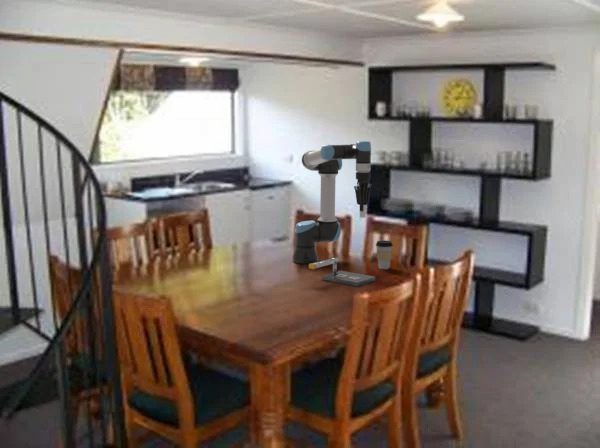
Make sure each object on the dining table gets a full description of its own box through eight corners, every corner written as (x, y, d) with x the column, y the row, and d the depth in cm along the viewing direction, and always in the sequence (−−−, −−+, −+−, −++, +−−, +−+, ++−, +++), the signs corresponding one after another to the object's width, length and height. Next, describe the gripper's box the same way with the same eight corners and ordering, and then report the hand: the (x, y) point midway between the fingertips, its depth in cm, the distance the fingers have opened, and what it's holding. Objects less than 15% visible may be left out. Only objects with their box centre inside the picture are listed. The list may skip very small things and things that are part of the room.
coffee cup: (392, 266, 374) (392, 240, 372) (392, 270, 365) (393, 243, 362) (375, 266, 375) (375, 240, 373) (375, 269, 366) (375, 243, 363)
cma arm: (334, 261, 350) (334, 257, 350) (340, 262, 347) (340, 258, 347) (308, 268, 334) (308, 263, 334) (314, 269, 331) (314, 265, 331)
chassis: (322, 279, 344) (322, 264, 342) (340, 274, 356) (340, 259, 355) (357, 286, 330) (357, 270, 328) (375, 280, 342) (375, 265, 341)
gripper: (361, 172, 331) (361, 219, 334) (376, 171, 341) (375, 216, 344) (349, 172, 335) (349, 218, 339) (364, 170, 345) (363, 215, 349)
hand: (362, 217), depth 342 cm, fingers closed
